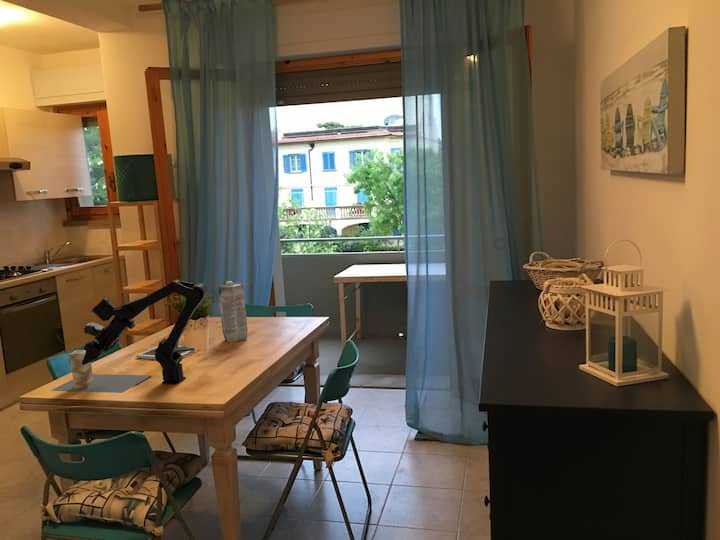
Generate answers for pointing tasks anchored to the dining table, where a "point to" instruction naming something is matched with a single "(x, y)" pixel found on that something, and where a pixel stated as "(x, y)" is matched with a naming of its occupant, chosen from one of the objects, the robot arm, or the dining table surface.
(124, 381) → the rubber mat
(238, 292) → the juice carton
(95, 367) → the dining table surface
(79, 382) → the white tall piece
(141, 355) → the picture frame
